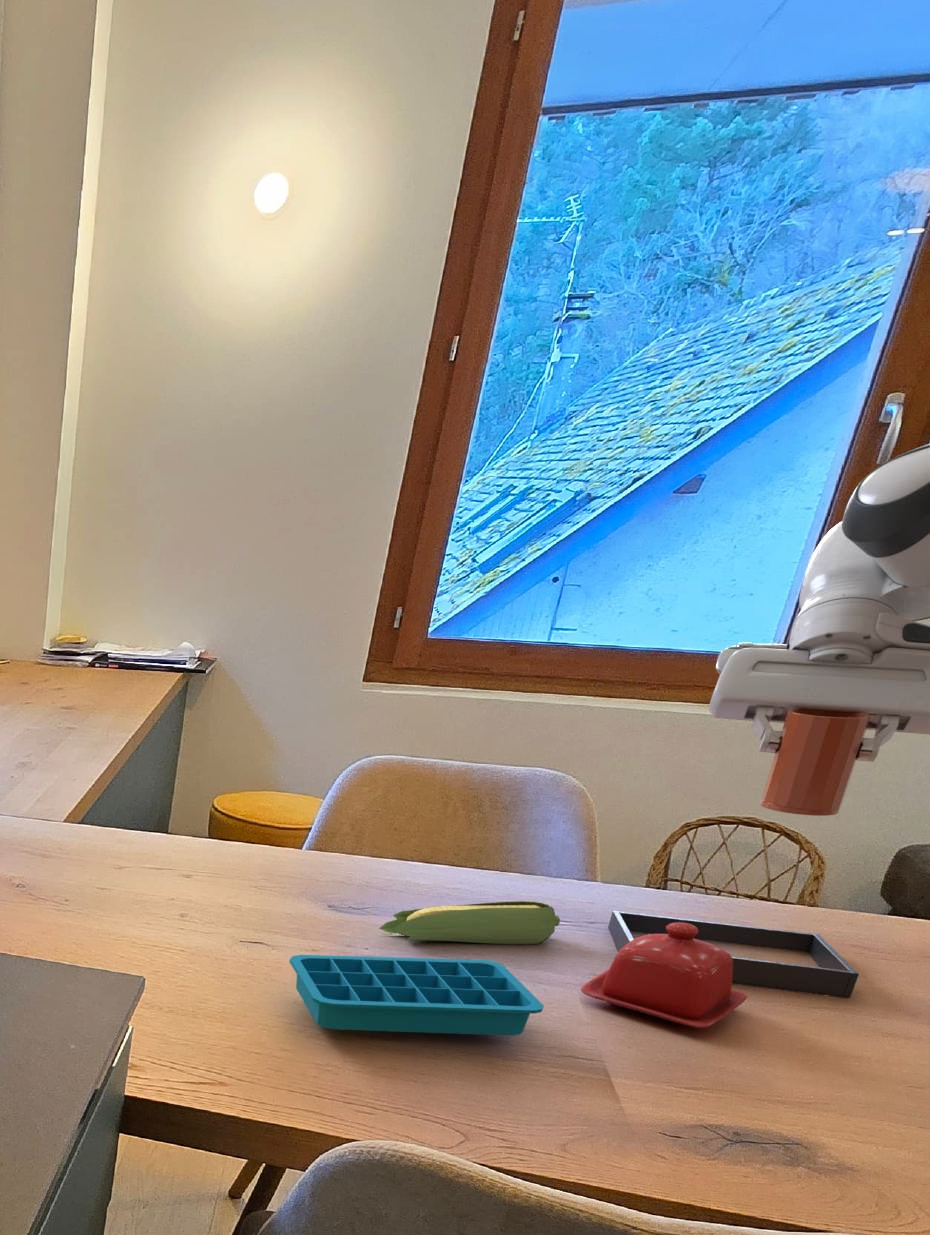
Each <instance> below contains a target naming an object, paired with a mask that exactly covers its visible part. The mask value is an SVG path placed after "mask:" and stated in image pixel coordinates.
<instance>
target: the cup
mask: <svg viewBox="0 0 930 1235" xmlns="http://www.w3.org/2000/svg"><path fill="white" fill-rule="evenodd" d="M870 717H871V716H869V715H867V714H863V713H856V712H842V711H828V710H813V709H790V710H789V711H788V713H787V716H786V719H785V722H784V723H783V726H782V730H781V731H782V736H781V738H780V744H779V747H778V749H777V752H776V753H774V756H773V759H772V763H771V765H770V769H769V772H768V776H767V779H766V782H765V785H764V788H763V793H762V796H761V801H760V806H761V807H763V808H765V809H767V810H771V811H774V812H775V811H776V812H780V813H785V814H792V815H793V814H794V815H801V816H817V817H819V816H821V817H822V816H823V817H824V816H827V817H828V816H834V815H835V816H836V815H837V814H839V813H840V810H841V807H842V806H843V805H842V804H843V802H844V799H845V795H846V792H847V790H848V786H849V783H850V780H851V777H852V775H853V771H854V768H855V766H856V763H857V760H856V759H857V756H858V754H859V750H860V747H861V744H862V741H863V738H865V735H866V732H867V730H866V729H867V726H868V723H869V720H870Z"/></svg>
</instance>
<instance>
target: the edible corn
mask: <svg viewBox="0 0 930 1235" xmlns="http://www.w3.org/2000/svg"><path fill="white" fill-rule="evenodd" d="M392 916H393V917H394V919H393V920H390V921H386V922H385V923H384V924H383V925H381V926H380V927H379V928H378V929H379V930H381V931H384V932H386V933H389V934H392V933H399V934H401V935H406V936H405V937H407V938H405V939H404V941H428V942H450V943H453V942H457V943H473V944H493V945H495V944H496V945H537V944H538V945H539V944H541V943H543V942H545V941H546V940H548V939H549V938H551V936H552V935H553V934H554V933H555V931H556V930H555V929H556V927H558V926H559V925H560V921H561V920H560V917H559V915H556V912H555V909H554V907H552V906H550V905H549V904H547V903H543V902H538V901H521V900H520V901H519V900H518V901H499V902H497V901H496V902H481V903H468V904H457V905H438V906H428V907H424V908H418V909H417V908H416V909H409V910H402V911H399V912H397V913H394V914H393V915H392Z"/></svg>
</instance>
